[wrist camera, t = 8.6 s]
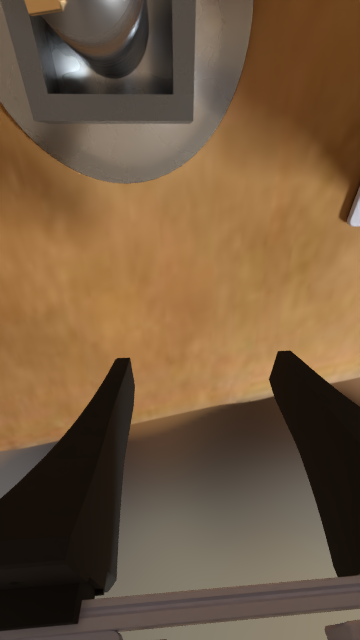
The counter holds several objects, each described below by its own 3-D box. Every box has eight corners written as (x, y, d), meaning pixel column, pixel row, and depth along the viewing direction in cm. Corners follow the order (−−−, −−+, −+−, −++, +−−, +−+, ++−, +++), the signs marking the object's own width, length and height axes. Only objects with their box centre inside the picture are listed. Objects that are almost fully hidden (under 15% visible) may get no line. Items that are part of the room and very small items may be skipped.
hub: (281, -288, 8) (323, -436, 6) (231, 181, 16) (242, 186, 14) (-153, -323, 8) (-272, -501, 6) (20, 183, 16) (-2, 189, 14)
